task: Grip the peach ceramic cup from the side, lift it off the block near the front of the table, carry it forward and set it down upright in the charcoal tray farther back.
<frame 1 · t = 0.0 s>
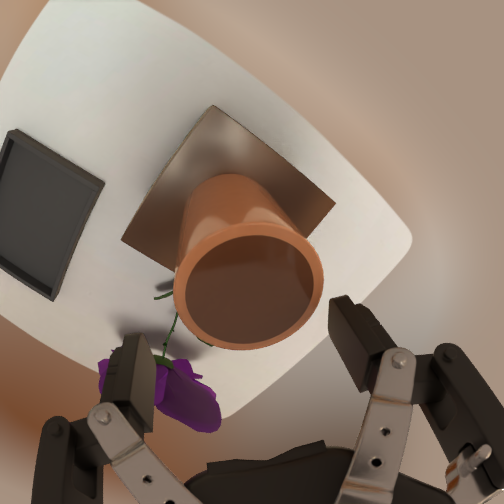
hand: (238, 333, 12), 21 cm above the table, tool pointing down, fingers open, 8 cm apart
cup: (229, 220, 20), point 11 cm above the table, touching block
tray: (33, 216, 27), on the table
flower: (169, 319, 37), on the table
block: (218, 183, 30), on the table
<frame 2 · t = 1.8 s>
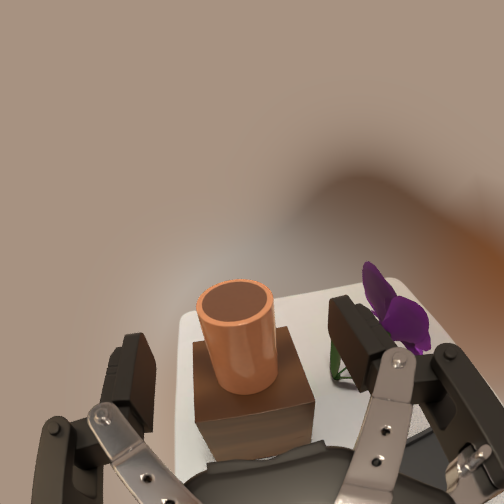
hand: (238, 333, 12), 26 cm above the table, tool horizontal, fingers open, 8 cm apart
cup: (246, 370, 29), point 11 cm above the table, touching block
tray: (412, 491, 21), on the table
flower: (368, 364, 40), on the table
block: (256, 422, 34), on the table
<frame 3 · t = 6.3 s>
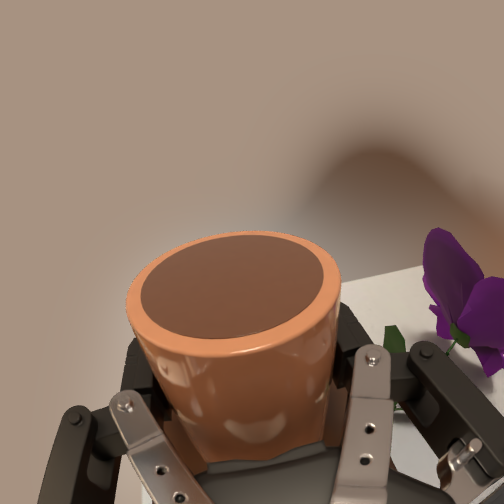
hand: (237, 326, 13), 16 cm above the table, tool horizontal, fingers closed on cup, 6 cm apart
cup: (258, 427, 13), point 11 cm above the table, touching gripper, block
flower: (430, 383, 24), on the table
block: (271, 486, 18), on the table
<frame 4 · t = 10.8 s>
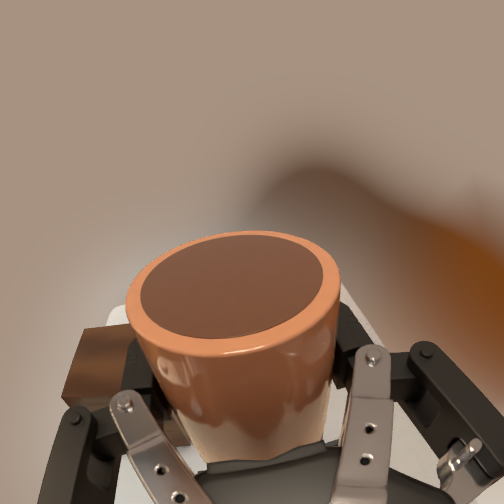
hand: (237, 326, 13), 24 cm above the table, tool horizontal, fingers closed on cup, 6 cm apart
cup: (258, 427, 13), point 19 cm above the table, touching gripper
block: (148, 412, 33), on the table
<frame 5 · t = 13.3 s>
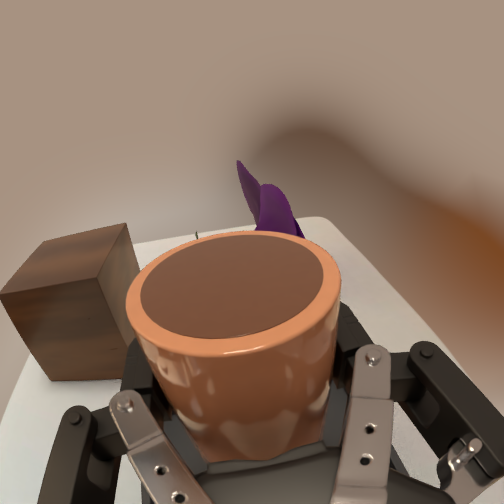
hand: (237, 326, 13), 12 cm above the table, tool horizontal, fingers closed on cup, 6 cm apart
cup: (258, 427, 13), point 7 cm above the table, touching gripper
tray: (265, 470, 16), on the table
flower: (253, 294, 35), on the table
block: (102, 343, 29), on the table
when the fingers open (6 cm above the table, at t = 15.4 s): cup stays where it is, resting on tray.
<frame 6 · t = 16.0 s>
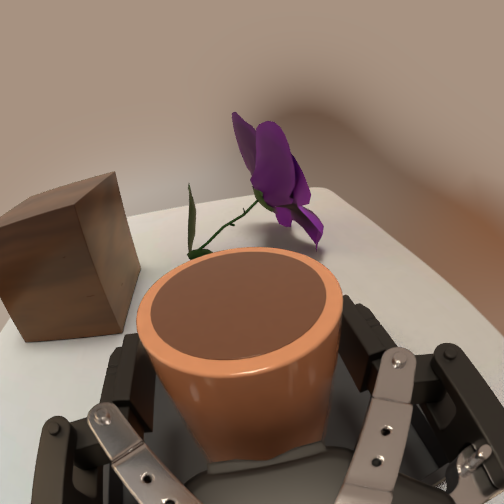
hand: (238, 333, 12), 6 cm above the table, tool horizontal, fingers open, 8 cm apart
cup: (262, 433, 13), resting on tray
tray: (261, 437, 14), on the table
flower: (249, 252, 33), on the table
block: (84, 302, 26), on the table
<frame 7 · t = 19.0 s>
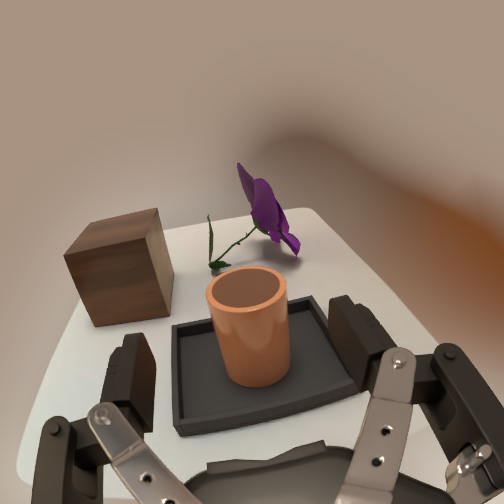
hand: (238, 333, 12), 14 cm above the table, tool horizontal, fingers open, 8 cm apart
cup: (257, 362, 28), resting on tray
tray: (257, 365, 28), on the table
flower: (250, 261, 47), on the table
block: (136, 298, 41), on the table
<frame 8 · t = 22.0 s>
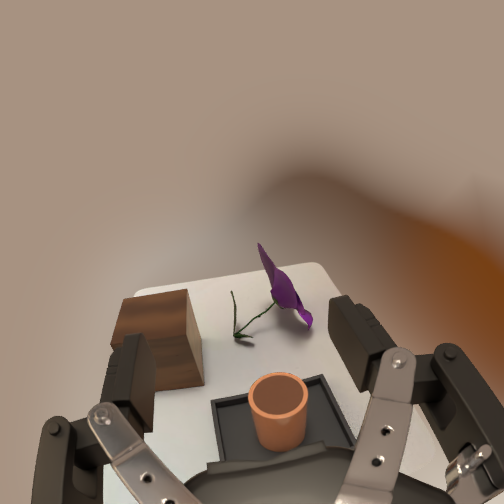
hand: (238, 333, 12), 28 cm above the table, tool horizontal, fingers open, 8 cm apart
cup: (281, 431, 33), resting on tray
tray: (280, 433, 34), on the table
flower: (268, 329, 53), on the table
block: (170, 364, 47), on the table
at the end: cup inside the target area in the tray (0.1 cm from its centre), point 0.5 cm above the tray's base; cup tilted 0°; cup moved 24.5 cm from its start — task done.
